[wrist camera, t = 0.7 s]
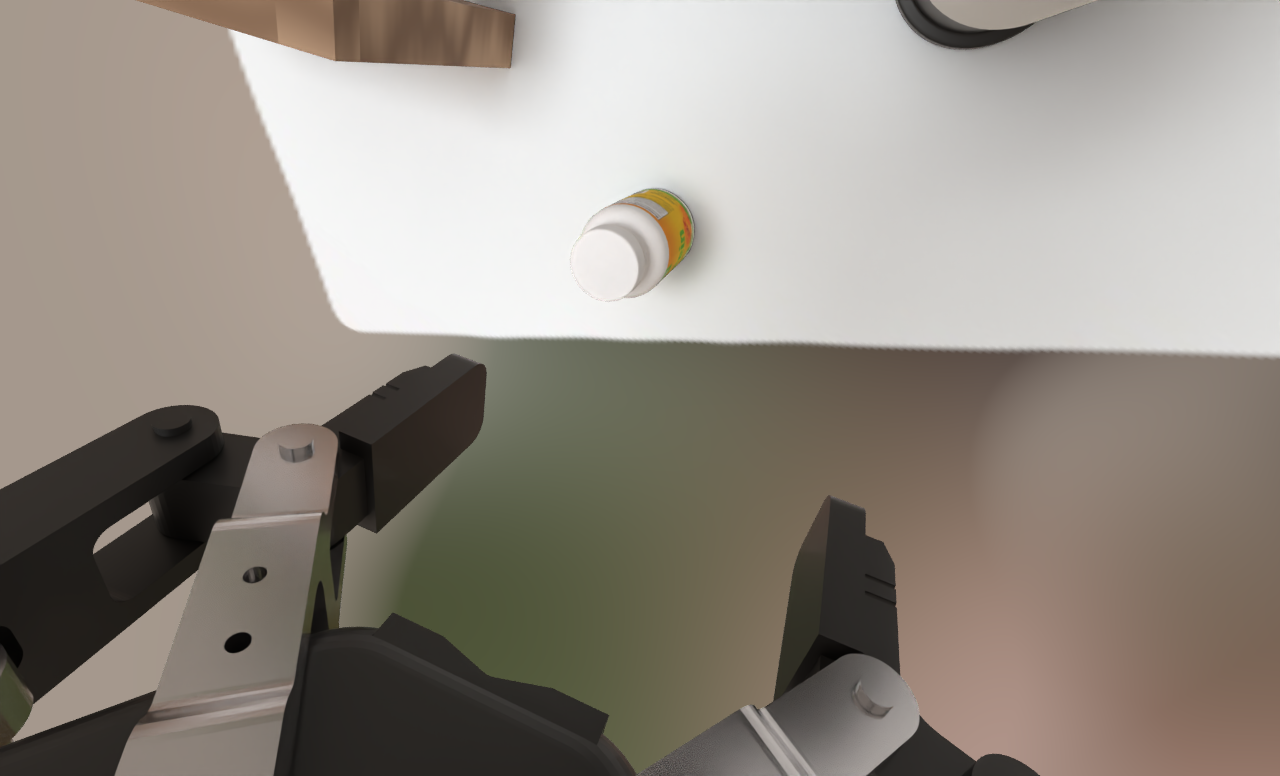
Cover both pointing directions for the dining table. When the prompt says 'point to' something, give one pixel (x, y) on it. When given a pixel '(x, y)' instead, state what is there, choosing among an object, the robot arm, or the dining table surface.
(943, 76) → the dining table surface
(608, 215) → the supplement bottle
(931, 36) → the light fixture
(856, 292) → the dining table surface
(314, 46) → the wooden frame stand
